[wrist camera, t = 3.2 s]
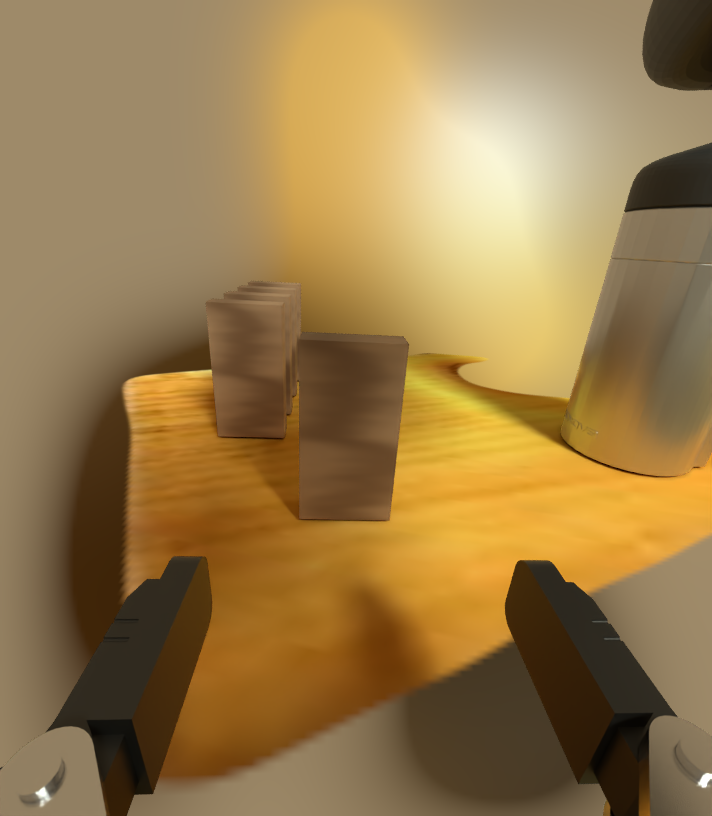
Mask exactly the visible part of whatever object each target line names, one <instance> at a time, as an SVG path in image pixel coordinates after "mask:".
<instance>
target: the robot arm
mask: <svg viewBox="0 0 712 816" xmlns="http://www.w3.org/2000/svg"><path fill="white" fill-rule="evenodd" d="M642 55H643V62H644V67H645V70H646V72H647V74H648V76H649V77H650V79H651V80H653V81H654V82H655V83H657V84H658V85H660V86H664V87H668V88H673V89H678V90H712V0H653V2H652V5H651V8H650V12H649V15H648V19H647V22H646V27H645V32H644V38H643V54H642ZM624 211H625V212H626V213H624V214H623V217H622V221H621V224H620V228H619V232H618V235H617V238H616V242H615V245H614V248H613V252H612V255H611V258H612V259H610V263H609V266H608V270H607V273H606V276H605V280H604V283H603V287H602V291H601V294H600V297H599V300H598V304H597V307H596V311H595V314H594V318H593V321H592V324H591V328H590V331H589V335H588V338H587V342H586V345H585V348H584V352H583V356H582V359H581V362H580V365H579V369H578V373H577V376H576V379H575V383H574V386H573V389H572V393H571V396H570V400H569V403H568V407H567V410H566V413H565V417H564V420H563V424H562V427H561V436H562V438H563V439H564V440H565V441H566V442H567V443H568V444H569V445H570V446H571V447H573V448H574V449H576V450H577V451H579V452H581V453H582V454H584V455H586V456H588V457H590V458H593V459H595V460H597V461H599V462H602V463H605V464H607V465H610V466H613V467H616V468H620V469H623V470H627V471H631V472H636V473H641V474H646V475H654V476H678V475H683V474H686V473H688V472H689V471H690V470H691V469H692V468H693V467H705V465H706V463H707V461H708V459H709V457H710V455H711V453H712V143H709V144H706V145H703V146H700V147H696V148H693V149H690V150H687V151H683V152H680V153H676V154H673V155H670V156H667V157H665V158H662V159H659V160H657V161H655V162H652V163H651V164H649V165H647V166H646V167H644V168H643V169H642V170H641V171H640V172H639V173H638V174H637V176H636V178H635V179H634V181H633V184H632V187H631V190H630V193H629V196H628V200H627V203H626V207H625V210H624ZM211 612H212V595H211V587H210V579H209V571H208V563H207V559H206V557H195V556H174V557H173V558H172V559H171V560H170V561H169V563H168V565H167V567H166V569H165V571H164V573H163V575H162V576H161V578H160V579H147V580H146V581H144V582H143V583H142V584H141V585H140V586H139V587H138V588H137V589H136V590H135V591H134V592H133V593H131V594H130V595H129V596H128V597H127V599H126V600H125V602H124V604H123V606H122V607H121V609H120V611H119V612H118V614H117V616H116V617H115V621H114V623H112V624H111V626H110V628H109V629H108V631H107V633H106V634H105V636H104V640H103V642H101V643H100V645H99V647H98V648H97V650H96V652H95V653H94V655H93V656H92V658H91V660H90V662H89V663H88V665H87V667H86V669H85V670H84V672H83V674H82V675H81V677H80V679H79V680H78V682H77V684H76V685H75V687H74V689H73V690H72V692H71V694H70V696H69V697H68V699H67V701H66V702H65V704H64V706H63V707H62V709H61V711H60V713H59V714H58V716H57V718H56V719H55V721H54V722H53V724H52V725H51V726H50V727H49V729H48V730H47V731H46V732H45V733H44V734H42V735H40V736H38V737H36V738H35V739H33V740H32V741H30V742H29V743H28V744H26V745H25V746H24V747H22V748H21V749H20V750H19V751H18V752H17V753H16V754H15V755H13V756H12V757H11V758H10V760H9V761H8V762H7V763H6V764H5V765H4V766H3V767H1V768H0V816H127V813H128V810H129V808H130V805H131V802H132V800H133V797H134V795H139V794H153V793H154V790H155V787H156V783H157V780H158V777H159V774H160V771H161V768H162V765H163V762H164V759H165V756H166V753H167V750H168V747H169V744H170V741H171V738H172V735H173V732H174V729H175V726H176V723H177V720H178V717H179V714H180V711H181V708H182V705H183V702H184V699H185V696H186V693H187V690H188V687H189V684H190V681H191V678H192V675H193V672H194V669H195V666H196V663H197V660H198V657H199V654H200V651H201V648H202V645H203V642H204V639H205V636H206V633H207V630H208V627H209V623H210V619H211ZM505 615H506V620H507V624H508V627H509V629H510V632H511V634H512V636H513V638H514V641H515V643H516V645H517V647H518V650H519V652H520V654H521V656H522V659H523V661H524V663H525V665H526V668H527V670H528V672H529V674H530V676H531V679H532V681H533V683H534V686H535V688H536V690H537V692H538V695H539V697H540V699H541V701H542V703H543V706H544V708H545V710H546V712H547V715H548V717H549V719H550V721H551V724H552V726H553V728H554V731H555V733H556V735H557V737H558V740H559V742H560V744H561V746H562V748H563V751H564V753H565V755H566V757H567V760H568V762H569V764H570V766H571V769H572V771H573V773H574V775H575V778H576V780H577V782H578V784H600V786H601V788H602V791H603V793H604V794H605V797H606V801H605V804H604V809H603V816H712V736H711V735H709V734H708V733H706V732H705V731H704V730H702V729H701V728H699V727H698V726H696V725H694V724H693V723H691V722H689V721H686V720H684V719H681V718H678V717H677V716H676V714H675V713H674V712H673V710H672V709H671V708H670V706H669V705H668V704H667V702H666V701H665V699H664V698H663V697H662V695H661V694H660V693H659V691H658V690H657V688H656V687H655V686H654V684H653V683H652V681H651V680H650V678H649V677H648V676H647V674H646V673H645V671H644V670H643V669H642V667H641V666H640V664H639V663H638V662H637V660H636V659H635V658H634V656H633V655H632V653H631V652H630V650H629V649H628V648H627V646H626V645H625V644H624V642H623V641H620V638H619V635H618V634H617V632H616V631H615V630H614V628H613V627H612V625H611V624H608V623H607V618H606V617H605V616H604V614H603V613H602V611H601V610H600V609H599V607H598V606H597V604H596V603H595V602H594V600H593V599H592V598H591V597H590V596H588V595H587V594H586V593H585V592H584V591H583V590H581V589H580V588H579V587H578V586H577V585H576V584H574V583H573V582H565V580H564V579H563V577H562V576H561V574H560V573H559V571H558V570H557V568H556V567H555V566H554V564H553V563H552V562H550V561H545V560H520V561H518V562H517V564H516V566H515V570H514V573H513V577H512V580H511V584H510V587H509V591H508V594H507V598H506V602H505Z"/></svg>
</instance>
